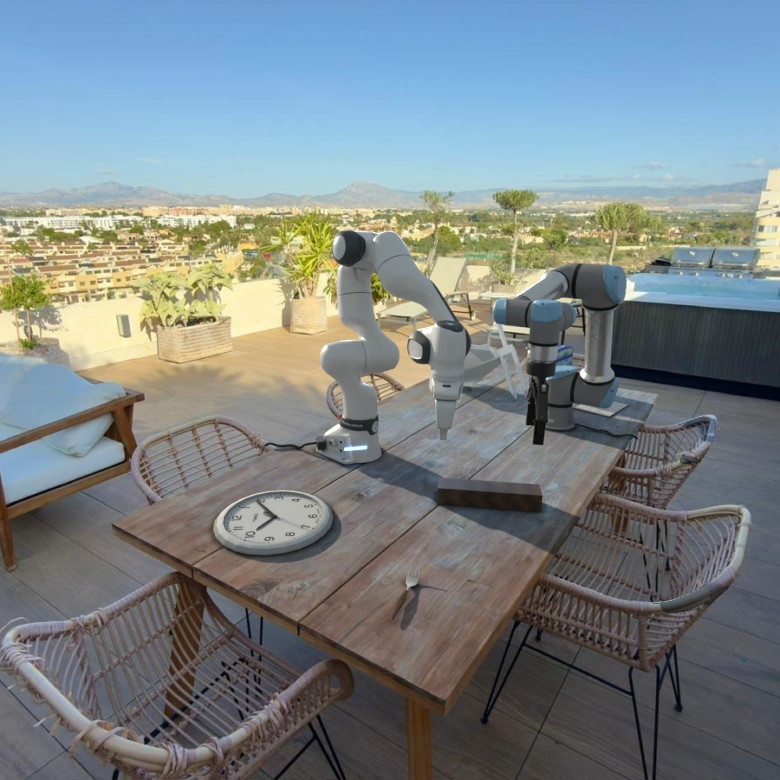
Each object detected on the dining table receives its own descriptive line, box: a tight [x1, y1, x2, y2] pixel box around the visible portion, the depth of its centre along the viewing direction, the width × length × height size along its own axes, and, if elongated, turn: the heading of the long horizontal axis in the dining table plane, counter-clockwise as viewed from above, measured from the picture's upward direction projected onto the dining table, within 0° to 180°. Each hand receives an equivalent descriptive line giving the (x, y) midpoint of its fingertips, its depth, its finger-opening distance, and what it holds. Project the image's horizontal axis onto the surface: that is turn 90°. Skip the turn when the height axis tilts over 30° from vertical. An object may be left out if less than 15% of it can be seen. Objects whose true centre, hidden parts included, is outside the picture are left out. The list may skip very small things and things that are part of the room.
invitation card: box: [573, 400, 629, 418], centre depth 226 cm, size 21×1×15 cm
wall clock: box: [212, 489, 334, 556], centre depth 134 cm, size 30×2×30 cm
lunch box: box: [528, 343, 574, 385], centre depth 248 cm, size 26×11×21 cm, turn 134°
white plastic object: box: [463, 323, 529, 400], centre depth 245 cm, size 37×45×31 cm
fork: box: [391, 565, 422, 620], centre depth 108 cm, size 3×16×2 cm, turn 160°
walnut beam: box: [436, 476, 543, 513], centre depth 145 cm, size 28×6×5 cm, turn 83°
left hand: (443, 432), depth 141 cm, fingers open, 8 cm apart
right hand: (534, 434), depth 144 cm, fingers open, 13 cm apart
